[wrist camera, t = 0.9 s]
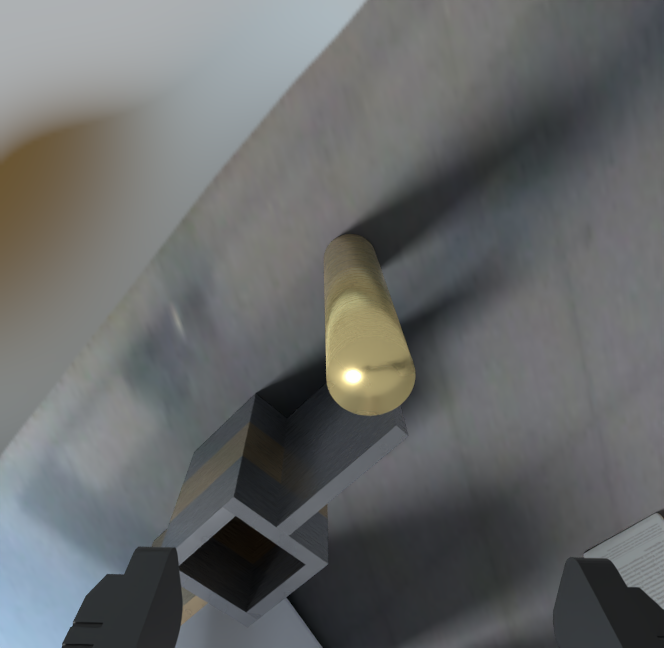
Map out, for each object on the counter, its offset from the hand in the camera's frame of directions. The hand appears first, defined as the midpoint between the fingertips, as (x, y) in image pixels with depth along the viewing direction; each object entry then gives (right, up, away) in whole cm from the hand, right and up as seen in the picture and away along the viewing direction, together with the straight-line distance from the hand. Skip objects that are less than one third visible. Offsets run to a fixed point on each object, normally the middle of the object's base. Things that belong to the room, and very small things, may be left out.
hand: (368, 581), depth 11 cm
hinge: (-6, -3, +25) cm, 26 cm away
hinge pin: (0, +9, +20) cm, 22 cm away
